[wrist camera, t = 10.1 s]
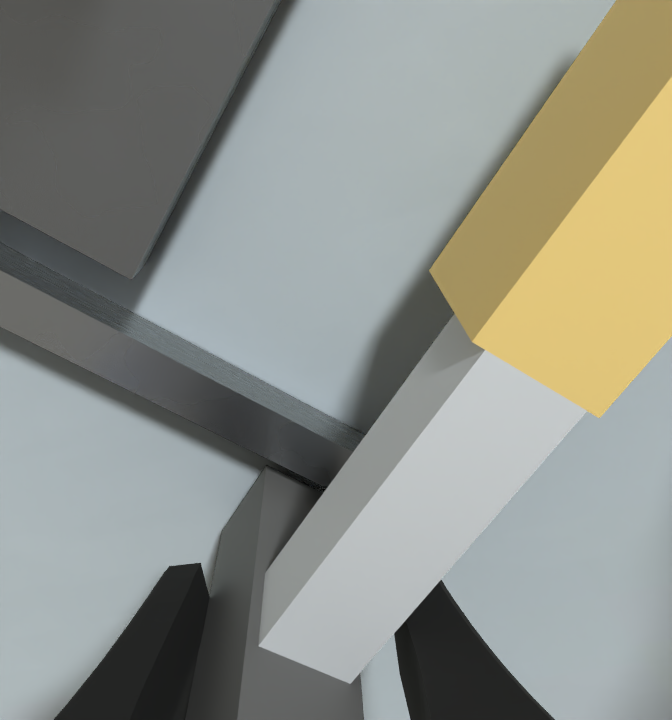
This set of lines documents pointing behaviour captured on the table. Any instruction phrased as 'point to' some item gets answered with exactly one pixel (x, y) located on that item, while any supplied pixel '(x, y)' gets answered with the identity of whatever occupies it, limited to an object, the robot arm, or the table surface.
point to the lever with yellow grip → (465, 392)
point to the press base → (132, 198)
